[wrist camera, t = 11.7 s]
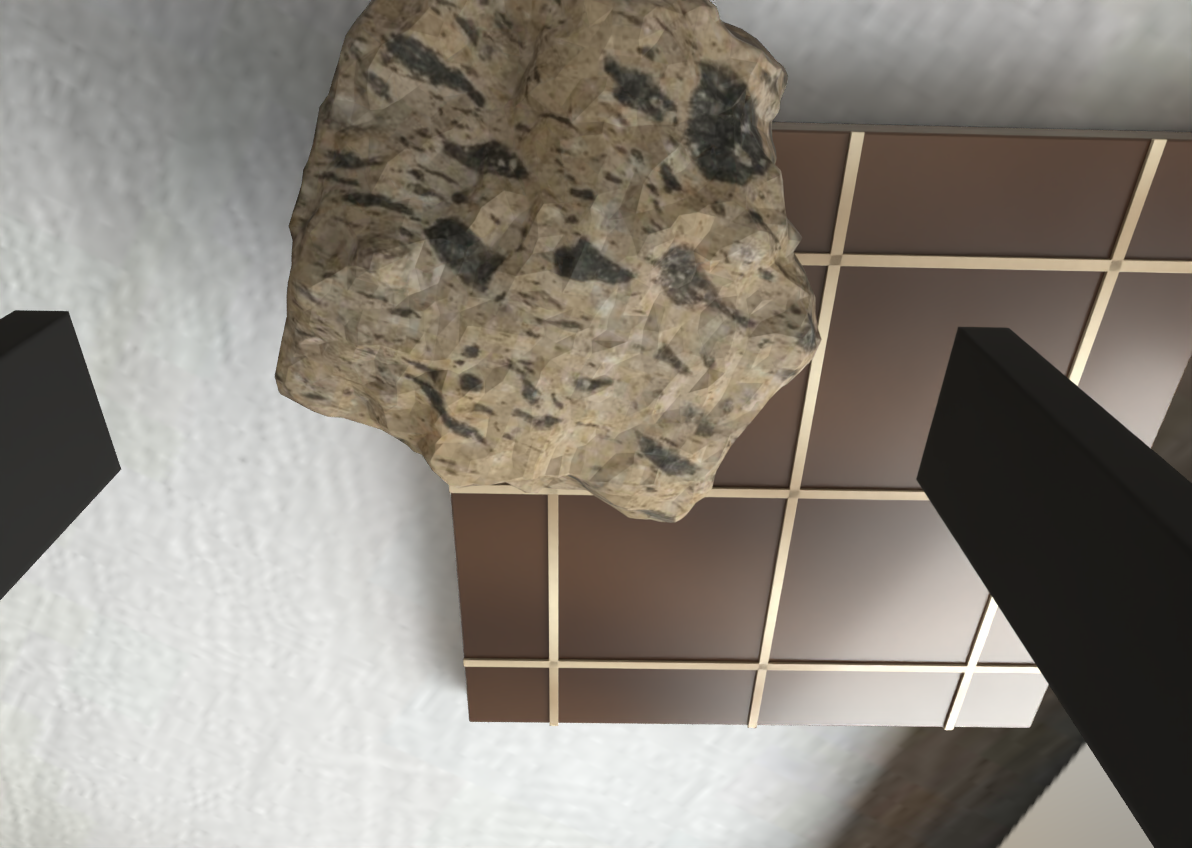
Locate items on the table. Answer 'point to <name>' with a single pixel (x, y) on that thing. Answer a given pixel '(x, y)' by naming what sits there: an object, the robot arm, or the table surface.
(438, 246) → the rock
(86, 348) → the table surface
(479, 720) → the grid board
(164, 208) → the table surface
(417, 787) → the table surface
